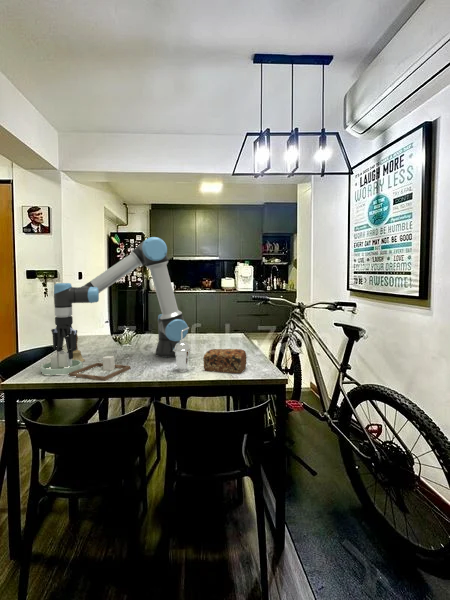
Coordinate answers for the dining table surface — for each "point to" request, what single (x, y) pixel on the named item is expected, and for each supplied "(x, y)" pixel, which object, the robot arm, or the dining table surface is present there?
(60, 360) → the white block
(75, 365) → the bowl
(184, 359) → the cup with straw
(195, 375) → the dining table surface
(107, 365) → the white upright block
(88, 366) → the tray
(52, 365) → the white rectangular block
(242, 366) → the bread
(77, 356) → the hand bell
